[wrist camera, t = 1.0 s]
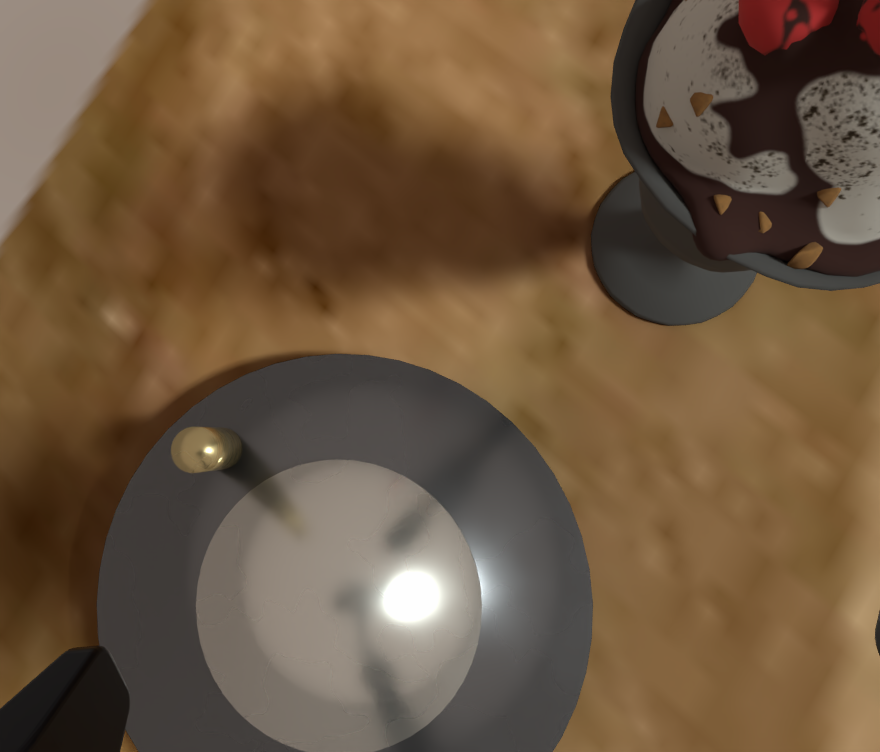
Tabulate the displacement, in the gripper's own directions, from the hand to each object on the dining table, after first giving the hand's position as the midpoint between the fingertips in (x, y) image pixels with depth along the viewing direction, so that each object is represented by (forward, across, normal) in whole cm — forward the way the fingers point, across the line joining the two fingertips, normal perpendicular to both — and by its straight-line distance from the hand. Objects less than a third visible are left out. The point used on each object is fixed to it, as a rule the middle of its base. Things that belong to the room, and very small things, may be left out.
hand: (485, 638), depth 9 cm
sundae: (+15, -6, +1) cm, 16 cm away
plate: (+10, +4, +9) cm, 14 cm away
